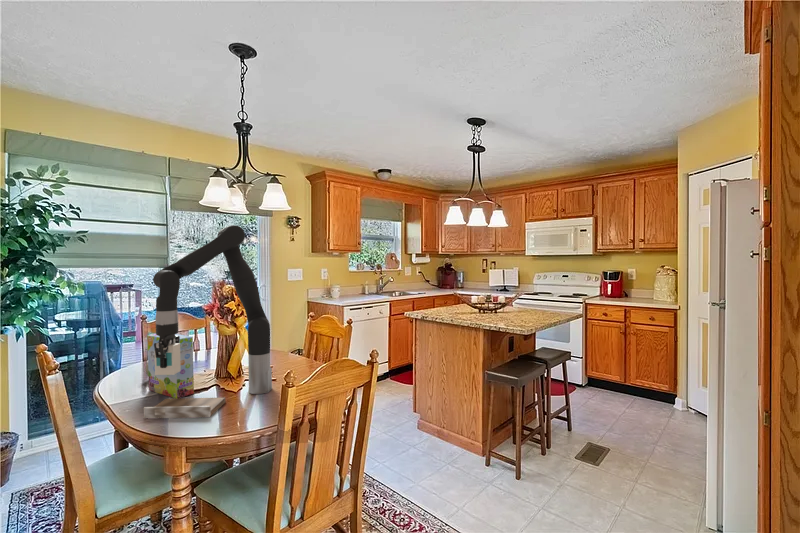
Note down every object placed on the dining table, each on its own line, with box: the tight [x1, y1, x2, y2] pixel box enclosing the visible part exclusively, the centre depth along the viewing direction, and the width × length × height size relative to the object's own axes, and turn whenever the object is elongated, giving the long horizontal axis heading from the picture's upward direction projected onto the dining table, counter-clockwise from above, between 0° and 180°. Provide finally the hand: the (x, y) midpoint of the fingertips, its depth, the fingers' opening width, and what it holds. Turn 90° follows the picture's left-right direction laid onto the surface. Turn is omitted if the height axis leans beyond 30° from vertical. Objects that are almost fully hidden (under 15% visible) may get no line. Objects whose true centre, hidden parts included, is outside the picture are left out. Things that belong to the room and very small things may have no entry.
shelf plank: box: [143, 397, 226, 419], centre depth 152 cm, size 24×15×4 cm, turn 93°
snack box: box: [146, 333, 195, 398], centre depth 172 cm, size 22×9×26 cm, turn 62°
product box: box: [155, 343, 181, 375], centre depth 150 cm, size 5×7×11 cm
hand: (167, 365), depth 150 cm, fingers closed on product box, 5 cm apart
